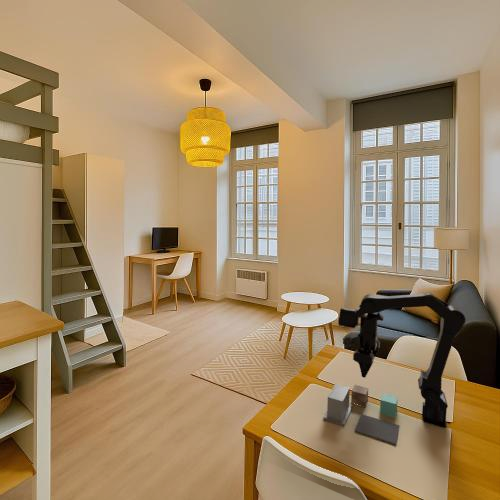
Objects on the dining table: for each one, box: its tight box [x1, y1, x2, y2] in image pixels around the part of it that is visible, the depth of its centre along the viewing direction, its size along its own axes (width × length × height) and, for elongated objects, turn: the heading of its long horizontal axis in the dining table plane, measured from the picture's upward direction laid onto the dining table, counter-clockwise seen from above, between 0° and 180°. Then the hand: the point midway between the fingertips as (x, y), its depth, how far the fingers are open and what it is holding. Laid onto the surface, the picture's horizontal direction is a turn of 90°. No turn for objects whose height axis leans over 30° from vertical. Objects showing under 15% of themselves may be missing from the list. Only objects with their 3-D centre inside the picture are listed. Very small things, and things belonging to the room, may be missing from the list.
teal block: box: [379, 392, 399, 419], centre depth 111 cm, size 5×5×5 cm
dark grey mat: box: [354, 413, 400, 446], centre depth 102 cm, size 12×10×1 cm
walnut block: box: [350, 384, 369, 408], centre depth 117 cm, size 5×5×5 cm
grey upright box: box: [322, 383, 353, 427], centre depth 110 cm, size 7×12×8 cm, turn 150°
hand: (366, 371), depth 115 cm, fingers open, 9 cm apart
